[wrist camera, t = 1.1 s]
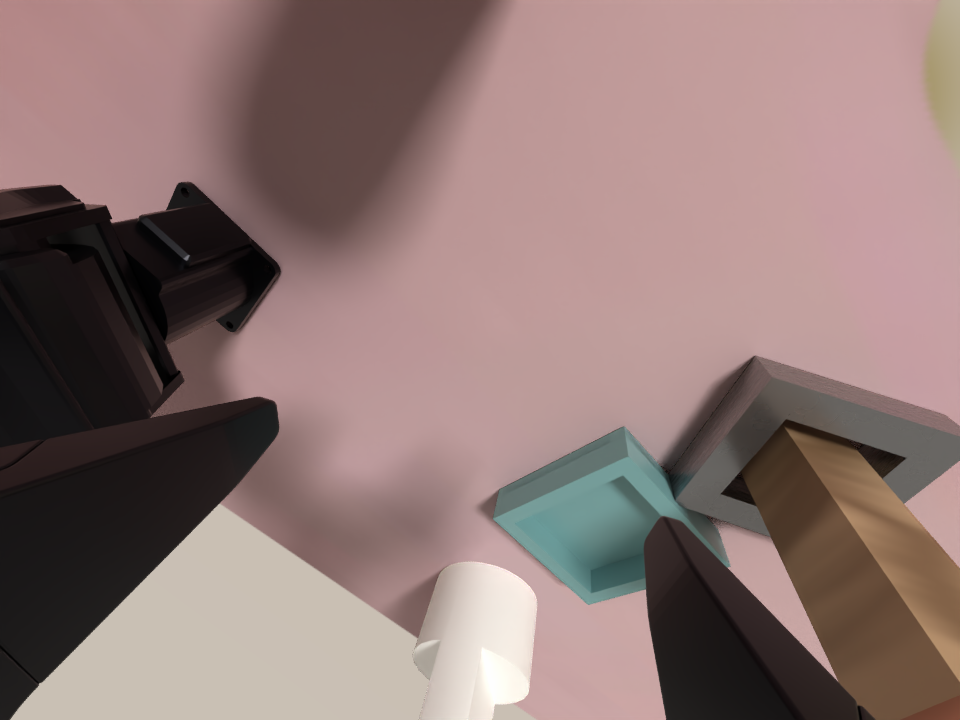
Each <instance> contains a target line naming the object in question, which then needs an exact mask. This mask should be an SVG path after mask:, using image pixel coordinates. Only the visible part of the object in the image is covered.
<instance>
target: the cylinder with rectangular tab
mask: <svg viewBox="0 0 960 720" xmlns="http://www.w3.org/2000/svg"><path fill="white" fill-rule="evenodd" d="M537 603H538V602H537V599H536V596H535V594H534V592H533V591H532V589H531V588H530V587H529V585H528V584H526V583H525V582H524V581H523V580H522V579H521V578H519V577H518V576H516V575H514V574H513V573H511V572H509V571H507V570H505V569H502V568H500V567H497V566H494V565H490V564H486V563H481V562H460V563H454V564H452V565H450V566H447V567H446V568H444V569H443V570H442V571H441V572H440V574H439V576H438V579H437V582H436V585H435V588H434V591H433V594H432V597H431V600H430V603H429V607H428V610H427V613H426V616H425V619H424V622H423V625H422V628H421V631H420V634H419V637H418V640H417V643H416V646H415V650H414V652H413V659H414V663H415V664H416V666H417V668H418V669H419V671H420V672H421V673H422V674H423V675H424V676H425V677H426V678H427V679H429V680H430V682H429V685H428V688H427V692H426V696H425V699H424V703H423V707H422V710H421V714H420V717H419V720H493V713H494V707H495V704H509V703H516V702H518V701H520V700H522V699H524V698H525V697H526V696H527V695H528V693H529V686H530V675H531V665H532V654H533V644H534V634H535V623H536V613H537Z"/></svg>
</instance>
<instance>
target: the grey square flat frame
mask: <svg viewBox="0 0 960 720" xmlns="http://www.w3.org/2000/svg"><path fill="white" fill-rule="evenodd" d="M786 419H788V420H791V421H794V422H797V423H800V424H804V425H807V426H810V427H813V428H816V429H819V430H822V431H825V432H828V433H831V434H835V435H838V436H841V437H844V438H847V439H850V440H853V441H856V442H859V443H862V444H863V445H862V446H861V447H860V448H859V449H858V450H857V451H858V452H859V453H860V454H861V455H862V456H863V457H864V459H865V460H866V461H867V462H868V463H869V464H870V466H871V467H872V468H873V469H874V470H875V471H876V472H877V474H878V475H879V476H880V477H881V478H882V479H883V481H884V482H885V483H886V484H887V485H888V486H889V487H890V489H891V490H892V491H893V492H894V493H895V494H896V496H897V497H898V498H899V499H900V500H901V501H902V502H903V504H904V503H906V502H907V501H908V500H909V499H911V498H912V497H913V496H915V495H916V494H917V493H918V492H920V491H921V490H922V489H924V488H925V487H926V486H927V485H929V484H930V483H931V482H933V481H934V480H935V479H936V478H938V477H939V476H940V475H942V474H943V473H944V472H946V471H947V470H948V469H949V468H951V467H952V466H953V465H955V464H956V463H957V462H958V461H960V426H959V425H957V424H956V423H955V422H954V421H952V420H951V419H950V418H948V417H947V416H946V415H943V414H940V413H937V412H934V411H931V410H927V409H924V408H921V407H918V406H915V405H911V404H908V403H905V402H902V401H899V400H895V399H892V398H889V397H886V396H883V395H879V394H876V393H873V392H870V391H867V390H863V389H860V388H857V387H854V386H851V385H847V384H844V383H841V382H838V381H835V380H832V379H828V378H825V377H822V376H819V375H816V374H812V373H809V372H806V371H803V370H800V369H796V368H793V367H790V366H787V365H784V364H780V363H777V362H774V361H771V360H768V359H764V358H761V357H758V356H755V357H754V358H753V360H752V361H751V362H750V364H749V365H748V366H747V368H746V369H745V371H744V372H743V373H742V375H741V376H740V377H739V379H738V380H737V381H736V383H735V384H734V386H733V387H732V388H731V390H730V391H729V392H728V394H727V395H726V396H725V398H724V399H723V401H722V402H721V403H720V405H719V406H718V407H717V409H716V410H715V411H714V413H713V414H712V416H711V417H710V418H709V420H708V421H707V422H706V424H705V425H704V426H703V428H702V429H701V431H700V432H699V433H698V435H697V436H696V437H695V439H694V440H693V441H692V443H691V444H690V446H689V447H688V448H687V450H686V451H685V452H684V454H683V455H682V456H681V458H680V459H679V461H678V462H677V463H676V465H675V466H674V467H673V469H672V470H671V471H670V473H669V474H668V476H669V480H670V484H671V488H672V492H673V496H674V500H675V502H676V503H677V504H678V505H679V506H682V507H685V508H687V509H690V510H693V511H696V512H699V513H702V514H705V515H708V516H711V517H714V518H717V519H720V520H722V521H725V522H728V523H731V524H734V525H737V526H740V527H743V528H746V529H749V530H752V531H754V532H757V533H760V534H763V535H766V536H769V537H771V536H770V534H769V532H768V530H767V527H766V525H765V523H764V521H763V519H762V517H761V515H760V512H759V510H758V508H757V506H756V504H755V502H754V500H753V497H752V495H751V493H750V491H749V489H748V487H747V485H746V482H745V480H744V479H743V478H740V477H737V475H738V473H739V472H740V471H741V470H742V469H743V468H744V467H745V465H746V464H747V463H748V462H749V461H750V460H751V459H752V457H753V456H754V455H755V454H756V453H757V452H758V451H759V449H760V448H761V447H762V446H763V445H764V444H765V443H766V441H767V440H768V439H769V438H770V437H771V436H772V435H773V433H774V432H775V431H776V430H777V429H778V428H779V427H780V425H781V424H782V423H783V422H784V421H785V420H786Z"/></svg>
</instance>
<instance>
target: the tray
mask: <svg viewBox="0 0 960 720" xmlns="http://www.w3.org/2000/svg"><path fill="white" fill-rule="evenodd" d="M661 516H667V517H671V518H674V519H677V520H680V521H682V522H683V523H684V524H685V525H686V526H687V527H688V528H689V529H690V530H691V531H692V532H693V533H694V534H695V535H696V536H697V537H698V538H699V539H700V540H701V541H702V542H703V544H704V545H705V546H706V547H707V548H708V549H709V550H710V551H711V552H712V553H713V554H714V555H715V556H716V557H717V558H718V559H719V560H720V561H721V562H722V563H723V564H724V565H725V566H726V567H730V563H729V560H728V557H727V554H726V551H725V548H724V545H723V542H722V539H721V536H720V534H719V531H718V529H717V528H716V527H715V526H714V525H713V524H712V522H711V521H710V520H709V519H708V518H707V517H706V516H705V515H704V514H702V513H699V512H696V511H693V510H690V509H687V508H685V507H682V506H679V505H678V504H677V503H676V502H675V500H674V496H673V492H672V488H671V484H670V480H669V476H668V474H667V473H666V472H665V471H664V470H663V468H662V467H661V466H660V465H659V464H658V463H657V462H656V461H655V460H654V459H653V457H652V456H651V455H650V454H649V453H648V452H647V451H646V450H645V449H644V448H643V446H642V445H641V444H640V443H639V442H638V441H637V440H636V439H635V438H634V437H633V435H632V434H631V433H630V432H629V431H628V430H627V429H626V428H625V427H622V428H620V429H618V430H616V431H614V432H612V433H610V434H608V435H606V436H604V437H602V438H600V439H598V440H596V441H594V442H592V443H590V444H588V445H586V446H584V447H582V448H580V449H578V450H576V451H574V452H572V453H570V454H568V455H567V456H565V457H563V458H561V459H559V460H557V461H555V462H553V463H551V464H549V465H547V466H545V467H543V468H541V469H539V470H537V471H535V472H533V473H531V474H529V475H527V476H525V477H523V478H521V479H519V480H517V481H515V482H513V483H511V484H509V485H507V486H505V487H503V488H501V489H500V490H499V494H498V498H497V503H496V507H495V511H494V516H493V520H494V521H496V522H497V523H498V524H499V525H500V526H501V527H502V528H503V529H504V530H506V531H507V532H508V533H509V534H510V535H511V536H512V537H513V538H514V539H516V540H517V541H518V542H519V543H520V544H521V545H522V546H523V547H524V548H526V549H527V550H528V551H529V552H530V553H531V554H532V555H533V556H534V557H536V558H537V559H538V560H539V561H540V562H541V563H542V564H543V565H544V566H546V567H547V568H548V569H549V570H550V571H551V572H552V573H553V574H554V575H556V576H557V577H558V578H559V579H560V580H561V581H562V582H563V583H564V584H566V585H567V586H568V587H569V588H570V589H571V590H572V591H573V592H574V593H576V594H577V595H578V596H579V597H580V598H581V599H582V600H583V601H584V602H586V603H587V604H588V605H589V604H593V603H597V602H600V601H604V600H608V599H611V598H615V597H619V596H623V595H626V594H630V593H634V592H637V591H641V590H645V589H646V581H645V566H644V542H645V539H646V537H647V535H648V534H649V532H650V531H651V529H652V528H653V526H654V525H655V523H656V522H657V520H658V519H659V518H660V517H661Z"/></svg>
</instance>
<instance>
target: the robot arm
mask: <svg viewBox="0 0 960 720" xmlns="http://www.w3.org/2000/svg"><path fill="white" fill-rule="evenodd" d="M187 190H188V191H189V194H188V192H187ZM110 219H112V217H111V215H110V213H109V210H108V208H107V206H106V205H89V204H84V203H83V202H81V201H80V199H77V198H76V197H74V196H73V195H72V194H71V193H70V192H69V191H67V190H66V189H65V188H64V187H63V186H62V185H42V186H31V187H21V188H11V189H2V190H0V720H10V719H11V718H12V716H13V715H14V714H15V712H16V711H17V709H18V708H19V707H20V706H21V705H22V703H23V702H24V701H25V700H26V699H27V697H29V696H30V695H31V693H32V692H33V691H34V690H35V689H36V688H37V687H38V686H39V683H42V682H43V681H44V680H45V679H46V678H47V677H48V676H49V675H50V674H51V673H52V672H53V671H54V670H55V669H56V668H57V667H58V666H59V665H60V664H61V663H62V662H63V661H64V660H65V659H66V658H67V657H68V656H69V655H70V654H71V653H72V652H73V651H74V650H75V649H76V648H77V647H78V646H79V645H80V644H81V643H82V642H83V641H84V640H85V639H86V638H87V637H88V636H89V635H90V634H91V633H92V632H93V630H95V628H97V627H98V626H99V625H100V624H101V622H103V620H105V618H106V617H108V615H109V614H110V613H111V612H112V611H113V610H114V609H115V608H116V607H117V606H118V605H119V604H120V603H121V602H122V601H123V600H124V599H125V598H126V597H127V596H128V595H129V594H130V593H131V592H132V591H133V590H134V589H135V588H136V587H137V586H138V585H139V584H140V583H141V582H142V581H143V580H144V579H145V578H146V577H147V576H148V575H149V574H150V573H151V572H152V571H153V570H154V569H155V568H156V567H157V566H158V565H159V564H160V563H161V562H162V561H163V560H164V559H165V558H166V557H167V556H168V555H169V554H170V553H171V552H172V551H173V550H174V549H175V548H176V547H177V546H178V545H179V544H180V543H181V542H182V541H183V540H184V539H185V538H186V537H187V536H188V535H189V534H190V533H191V532H192V531H193V530H194V529H195V528H196V527H197V525H199V524H200V523H201V522H202V521H203V520H204V518H205V517H206V516H208V514H209V513H210V512H211V511H212V510H213V509H214V508H215V507H216V506H217V505H218V504H219V503H220V502H221V501H222V500H223V499H224V498H225V497H226V496H227V495H228V494H229V493H230V492H231V491H232V490H233V489H234V488H235V487H236V486H237V485H238V484H239V482H240V481H241V480H242V479H243V478H244V477H245V475H246V474H247V473H248V472H249V470H250V469H251V468H252V467H253V465H254V464H255V463H256V462H257V461H258V459H259V458H260V457H261V456H262V454H263V453H264V452H265V451H266V449H267V448H268V447H269V446H270V444H271V443H272V442H273V441H274V439H275V438H276V436H277V434H278V432H279V420H278V412H277V405H276V403H275V402H274V401H273V400H269V399H266V398H263V397H253V398H248V399H243V400H238V401H233V402H228V403H223V404H218V405H213V406H208V407H203V408H198V409H193V410H188V411H183V412H178V413H174V414H169V415H164V416H159V417H154V418H150V417H151V416H152V414H153V413H154V412H155V411H156V410H157V409H158V408H159V407H160V406H161V405H162V404H163V403H164V402H165V401H166V400H167V399H168V398H169V397H170V396H171V395H172V393H173V392H174V391H175V390H176V389H177V388H178V387H179V386H180V385H181V384H182V383H183V382H184V378H183V376H182V374H181V371H178V370H177V367H176V365H175V363H174V361H173V359H172V356H171V354H170V352H169V350H168V348H167V344H169V343H171V342H173V341H175V340H177V339H179V338H181V337H183V336H185V335H187V334H189V333H191V332H193V331H195V330H197V329H199V328H201V327H203V326H205V325H207V324H209V323H211V322H213V321H215V320H216V321H218V322H219V323H220V324H221V325H222V326H223V327H224V328H226V329H227V330H228V331H230V332H235V331H237V330H239V329H240V328H241V327H242V326H243V324H244V323H245V321H246V320H247V319H248V317H249V316H250V314H251V313H252V312H253V310H254V309H255V307H256V306H257V305H258V303H259V302H260V300H261V299H262V298H263V296H264V295H265V293H266V292H267V291H268V289H269V288H270V286H271V285H272V283H273V282H274V281H275V279H276V278H277V276H278V275H279V273H280V267H279V265H278V264H277V262H276V261H275V260H274V259H272V258H271V257H270V256H269V255H268V254H267V253H266V252H265V251H264V250H263V249H262V248H261V247H260V246H259V245H258V244H257V243H256V242H254V241H253V240H252V239H251V238H250V237H249V236H248V235H247V234H246V233H245V232H244V231H243V230H242V229H241V228H240V227H239V226H238V225H236V224H235V223H234V222H233V221H232V220H231V219H230V218H229V217H228V216H227V215H226V214H225V213H224V212H223V211H222V210H221V209H220V208H218V207H217V206H216V205H215V204H214V203H213V202H212V201H211V200H210V199H209V198H208V197H207V196H206V195H205V194H204V193H203V192H202V191H200V190H199V189H198V188H197V187H196V186H195V185H194V184H193V183H191V182H181V183H178V185H177V186H176V189H175V191H174V193H173V196H172V198H171V200H170V202H169V205H168V207H167V209H166V211H160V212H155V213H149V214H144V215H141V216H139V218H136V219H131V220H125V221H120V222H115V223H111V221H110ZM268 266H269V267H270V268H271V270H272V271H270V269H269V268H268ZM644 566H645V581H646V597H647V610H648V619H649V625H650V631H651V637H652V643H653V648H654V654H655V659H656V665H657V670H658V676H659V682H660V687H661V693H662V698H663V704H664V710H665V715H666V720H876V719H875V718H874V717H873V716H872V715H871V714H870V713H869V712H868V711H867V710H866V709H865V708H864V707H863V706H860V705H858V704H857V701H856V700H855V699H854V698H853V697H852V696H851V695H850V694H849V692H848V691H847V690H846V689H845V688H844V687H843V686H842V685H841V684H840V683H839V682H838V681H837V680H836V679H835V678H834V677H833V676H832V675H831V674H830V673H829V672H828V671H827V670H826V669H825V668H824V667H823V666H822V665H821V664H820V663H819V662H818V661H817V660H816V659H815V658H814V657H813V656H812V654H811V653H810V652H809V651H808V650H807V649H806V648H805V647H804V646H803V645H802V644H801V643H800V642H799V641H798V640H797V639H796V638H795V637H794V636H793V635H792V634H791V633H790V632H789V631H788V630H787V629H786V628H785V627H784V626H783V625H782V624H781V623H780V622H779V621H778V620H777V619H776V617H775V616H774V615H773V614H772V613H771V612H770V611H769V610H768V609H767V608H766V607H765V606H764V605H763V604H762V603H761V602H760V601H759V600H758V599H757V598H756V597H755V596H754V595H753V594H752V593H751V592H750V591H749V590H748V589H747V588H746V587H745V586H744V585H743V584H742V583H741V582H740V580H739V579H738V578H737V577H736V576H735V575H734V574H733V573H732V572H731V571H730V570H729V569H728V568H727V567H726V566H725V565H724V564H723V563H722V562H721V561H720V560H719V559H718V558H717V557H716V556H715V555H714V554H713V553H712V552H711V551H710V550H709V549H708V548H707V547H706V546H705V545H704V544H703V542H702V541H701V540H700V539H699V538H698V537H697V536H696V535H695V534H694V533H693V532H692V531H691V530H690V529H689V528H688V527H687V526H686V525H685V524H684V523H683V522H682V521H680V520H677V519H674V518H671V517H667V516H661V517H660V518H659V519H658V520H657V522H656V523H655V525H654V526H653V528H652V529H651V531H650V532H649V534H648V535H647V537H646V539H645V542H644Z"/></svg>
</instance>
